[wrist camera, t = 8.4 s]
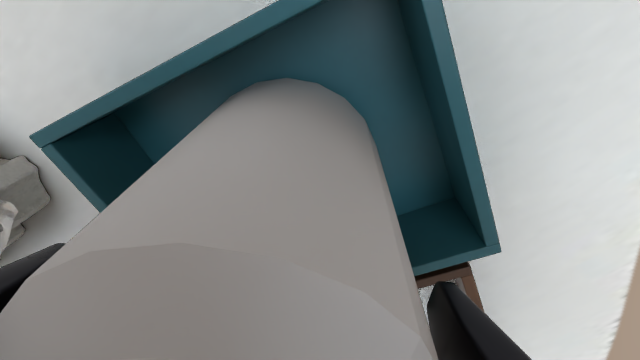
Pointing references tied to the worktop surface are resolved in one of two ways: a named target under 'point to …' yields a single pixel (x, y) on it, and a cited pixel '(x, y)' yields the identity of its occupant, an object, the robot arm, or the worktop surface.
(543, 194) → the worktop surface
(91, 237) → the can
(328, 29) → the teal tote
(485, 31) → the worktop surface
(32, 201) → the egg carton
